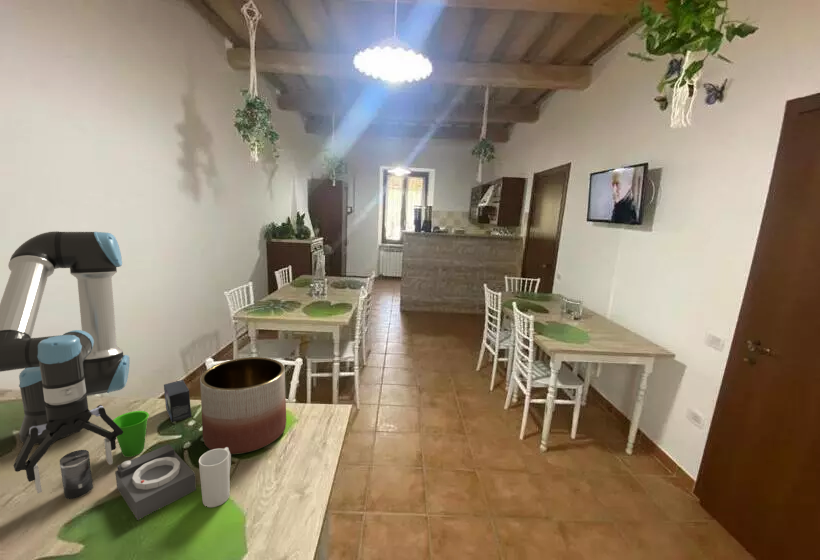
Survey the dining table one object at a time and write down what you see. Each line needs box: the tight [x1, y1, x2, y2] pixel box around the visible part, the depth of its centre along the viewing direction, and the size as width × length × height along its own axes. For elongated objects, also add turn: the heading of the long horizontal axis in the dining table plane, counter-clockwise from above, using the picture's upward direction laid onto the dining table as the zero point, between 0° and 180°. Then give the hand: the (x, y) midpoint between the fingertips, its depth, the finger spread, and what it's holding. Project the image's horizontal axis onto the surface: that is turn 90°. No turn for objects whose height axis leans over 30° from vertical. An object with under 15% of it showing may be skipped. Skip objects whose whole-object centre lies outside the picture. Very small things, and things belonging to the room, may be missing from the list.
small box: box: [163, 379, 192, 423], centre depth 130 cm, size 11×6×10 cm, turn 43°
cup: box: [112, 410, 150, 458], centre depth 109 cm, size 9×9×11 cm
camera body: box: [114, 444, 197, 521], centre depth 95 cm, size 16×13×7 cm
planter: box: [199, 356, 287, 455], centre depth 120 cm, size 25×25×22 cm
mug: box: [198, 447, 232, 508], centre depth 95 cm, size 10×7×12 cm, turn 174°
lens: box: [59, 449, 94, 500], centre depth 93 cm, size 6×6×10 cm
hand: (76, 475), depth 93 cm, fingers open, 13 cm apart
